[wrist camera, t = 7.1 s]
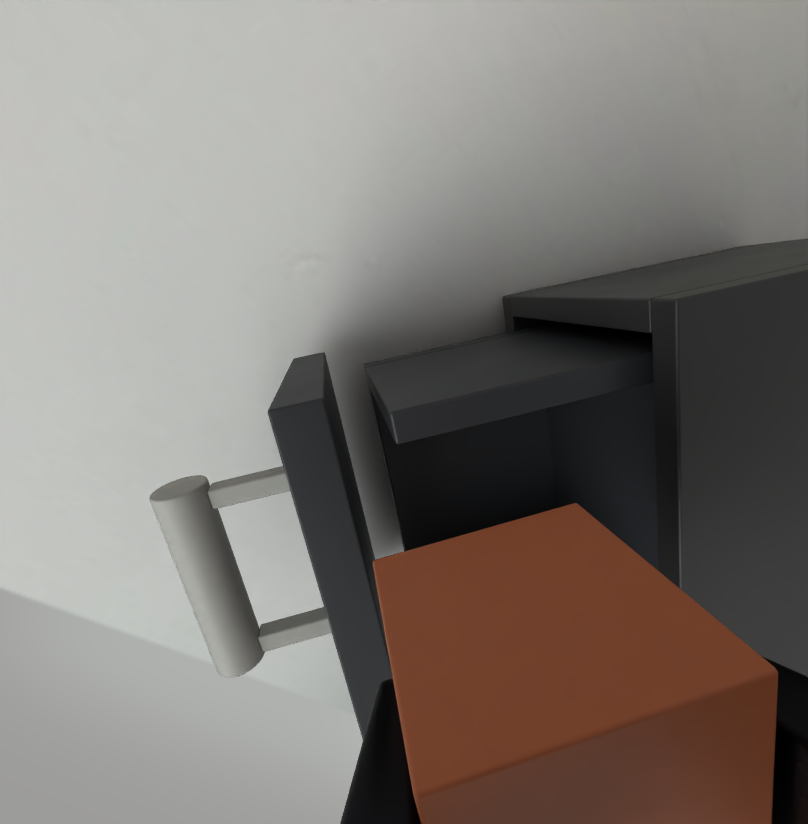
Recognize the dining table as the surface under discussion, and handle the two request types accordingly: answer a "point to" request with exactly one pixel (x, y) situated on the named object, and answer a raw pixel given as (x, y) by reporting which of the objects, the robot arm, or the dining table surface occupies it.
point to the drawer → (426, 477)
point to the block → (570, 684)
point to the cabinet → (719, 424)
